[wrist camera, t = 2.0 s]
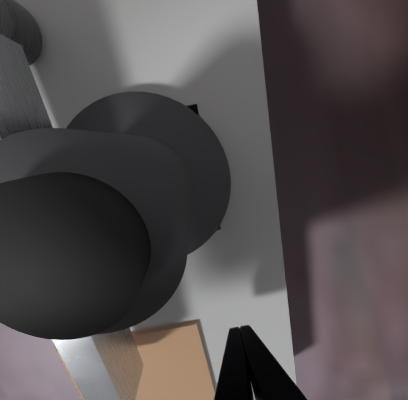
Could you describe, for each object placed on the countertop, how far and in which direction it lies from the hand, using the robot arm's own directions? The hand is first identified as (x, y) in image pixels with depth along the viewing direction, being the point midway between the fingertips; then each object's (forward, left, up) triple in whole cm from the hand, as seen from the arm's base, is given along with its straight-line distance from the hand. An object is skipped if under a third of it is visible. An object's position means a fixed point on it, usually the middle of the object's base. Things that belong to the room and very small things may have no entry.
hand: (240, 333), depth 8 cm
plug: (-2, +6, -4) cm, 8 cm away
